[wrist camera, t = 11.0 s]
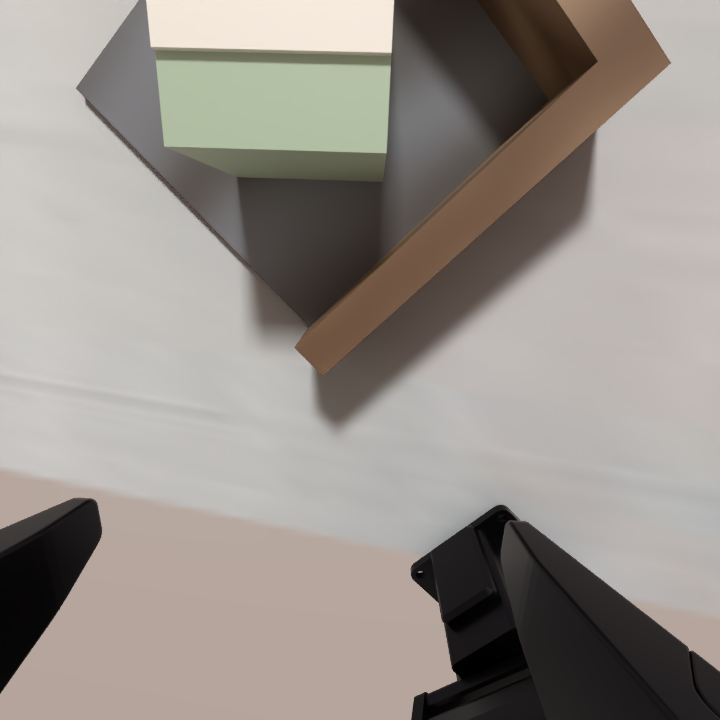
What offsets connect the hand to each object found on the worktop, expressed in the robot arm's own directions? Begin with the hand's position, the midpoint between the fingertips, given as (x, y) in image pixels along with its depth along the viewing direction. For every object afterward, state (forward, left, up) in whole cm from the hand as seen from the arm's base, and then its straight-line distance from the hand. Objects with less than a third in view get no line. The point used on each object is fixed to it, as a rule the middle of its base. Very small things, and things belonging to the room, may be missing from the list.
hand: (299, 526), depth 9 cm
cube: (+9, -7, -11) cm, 15 cm away
